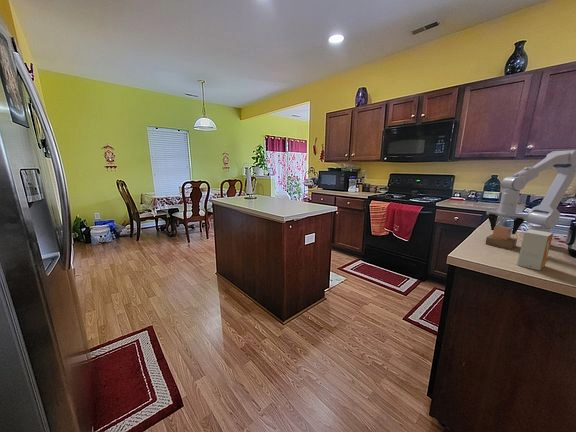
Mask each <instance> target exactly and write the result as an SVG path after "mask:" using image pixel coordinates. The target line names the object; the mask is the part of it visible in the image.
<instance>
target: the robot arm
mask: <svg viewBox="0 0 576 432" xmlns="http://www.w3.org/2000/svg"><path fill="white" fill-rule="evenodd" d="M550 167H551V168H552V169H553V170H554V171H556V172H557V175H556V176H555V177H554V179H553V181H552V183H551V185H550V186H549V189H548V190H547V192H546V194H545V196H544V197H543V199H542V200H541V202H540V204H538V205H536V206H534V207H532V208H531V210H530V211H528V212H527V213H526V214H522V213H516V212H517V208H518V207H517V206H518V204H519V203H518V202H519V199H520V198H519V196H520V192H521V190H524V188H525V187H526V185H527V184H528V183H529V182H531V181H533V180H534V179H536V178H537V177H538V176H539V174H540V173H541V172H543V171H545V170H548V169H550ZM575 177H576V149H572V150H570V149H569V150H567V149H566V150H553V151H551V152H550V153H547V155H546V156H545V158H543V159H542V160H540V161H539V162H537V163H536V164H535V165H533V166H525V167H523V168H522V169H521V170H520V171H518V172H516V173H514V174H513V175H511V176H506V177H504V178H503V179H502V181H500V184H499V185H500V188H501V191H500V192H501V193H502V194H501V198H500V203H499V209H498V210H491V209H488V210H486V212H485V213H486V215H487V218H488V220H489V225H490V230H491V231H494V227H496V226H497V220H498V218H499V217H503V218H504V217H505V218H510V219H513V226H512V232H511V235H515V234H516V233H517V231H518V229H519V228H520V227H521V225H522V224H523V223H524V222H526V223H527V225H528V228H527V231H528V230H530V229H532V230H538V231H544V232H550V233H552V229H553V228H554V227H556V226H557V225H558V223H559V220H560V217H561V215H562V213H561V212H560V211H559V210H558V209H557V207H558V206H559V204H560V202H561V201H562V199H563V197H564V196H565V195H566V193H567V191H568V189H569V187H570V186H571V184H572V182H573V180H574V179H575ZM551 245H552V243H551V244H550V246H551Z"/></svg>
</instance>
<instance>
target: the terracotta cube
mask: <svg viewBox="0 0 576 432" xmlns="http://www.w3.org/2000/svg"><path fill="white" fill-rule="evenodd" d="M512 230H513V227H507V226H504V225H496V227H494V230H492V234H493V236H492V237H495V238H499V239H504V240H507V239H510V237H512Z"/></svg>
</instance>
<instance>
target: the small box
mask: <svg viewBox="0 0 576 432" xmlns="http://www.w3.org/2000/svg"><path fill="white" fill-rule="evenodd" d="M553 236H554V233H553V232H551V233H550V232H544V231H538V230H532V229H530V230H528V229H527V230H526V231H524V232H523V236H522V241H521V246H520V251H519V254H518V259H517V263H516V265H517V266H520V267H523V268H528V269H531V270H536V271H541V270H542V269H543V268H544V267H545V266H546V264H547V263H546V262H547V260H548V254H549V251H550V247H551V245H552V240H553ZM550 244H551V245H550Z"/></svg>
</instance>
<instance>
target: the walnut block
mask: <svg viewBox="0 0 576 432" xmlns="http://www.w3.org/2000/svg"><path fill="white" fill-rule="evenodd" d="M492 236H493V233H492V234H489V235H488V236H486V238H485V243H484V245H488V246H493V247H495V248H501V249H506V250H511V249H513V248H515V247H516V246H517V242H518V238H516V237H512V236H511V237H510V239H507V240H504V239H499V238H495V237H492Z"/></svg>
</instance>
